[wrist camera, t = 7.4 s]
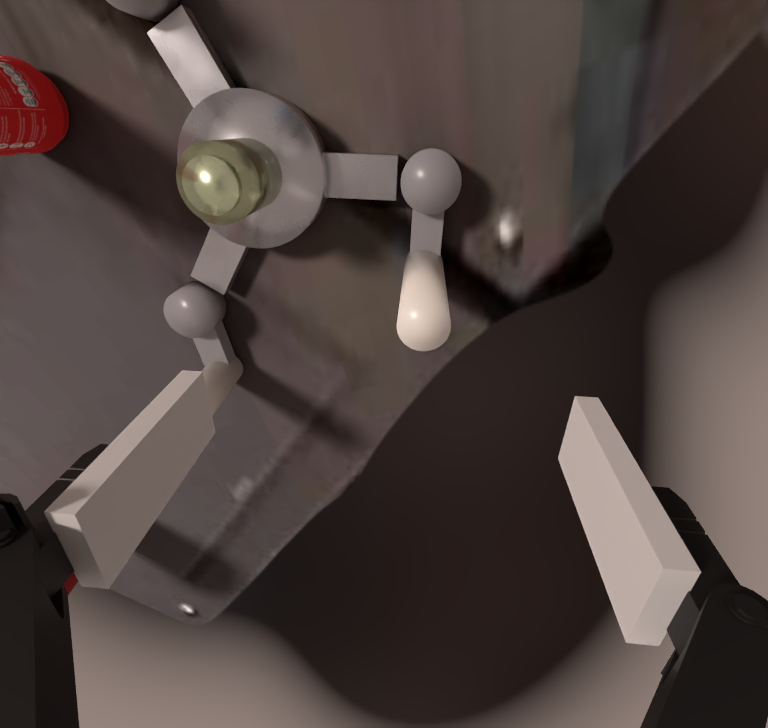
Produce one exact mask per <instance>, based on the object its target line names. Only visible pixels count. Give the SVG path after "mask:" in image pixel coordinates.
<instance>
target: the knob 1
mask: <svg viewBox="0 0 768 728" xmlns="http://www.w3.org/2000/svg"><path fill="white" fill-rule="evenodd" d="M225 314H226V302H225V299H224V297H223V295H222V294H221V293H219V292H218V291H216V290H214V289H213V288H211V287H209V286H207V285H206V284H204V283H202V282H200V281H192V282H189V283H188V284H186V285H184V286H183V287H182V288H180V289H179V290H177V291H176V292H174V293H173V294H171V295H170V296H169V297H168V298H167V299H166V301H165V304H164V315H165V318H166V320H167V322H168V324H169V325H170V326H171V327H172V328H173V329H174V330H175V331H176V332H177V333H179V334H181V335H183V336H185V337H188V338H193V340H194V342H195V345H196V347H197V349H198V352H199V354H200V356H201V359H202V361H203V364H204V366H205V368H204V369H203V370H202V371H201V372H203V376H204V381H205V385H206V390H207V395H208V400H209V405H210V409H211V414H212V415H213V414H214V413H215V411H216V410H217V409H218V407H219V406H220V404H221V403H222V402H223V400H224V399H225V398H226V396H227V395H228V393H229V392H230V391H231V389H232V388H233V386H234V385H235V384H236V382H237V381H238V380H239V378H240V377H241V375H242V374H243V365H242V363H241V361H240V360H239V359H238V358H237V357H236V356H235V354H234V351H233V348H232V346H231V343H230V340H229V338H228V335H227V333H226V330H225V327H224V325H223V322H222V319H223V318H224V316H225Z"/></svg>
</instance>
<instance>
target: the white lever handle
mask: <svg viewBox="0 0 768 728" xmlns="http://www.w3.org/2000/svg"><path fill="white" fill-rule="evenodd" d="M106 1H107V2H108V3H110V4H111V5H112V6H113V7H115V8H117V9H119V10H121V11H124V12H126V13H129V14H132V15H134V16H137V17H140V18H143V19H145V20H148V21H153V22H158V21H162V20H163V19H164V18H166V17H167V16H168V15H169V14H171V13H172V12H173V11H174V10H175V9H176V7H177V5H178V2H179V0H106Z"/></svg>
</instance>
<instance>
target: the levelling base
mask: <svg viewBox="0 0 768 728" xmlns="http://www.w3.org/2000/svg"><path fill="white" fill-rule="evenodd" d="M147 34H148V35H149V37H150V39H151V40H152V42H153V43H154V45H155V47H156V48H157V50H158V51H159V53H160V55H161V56H162V58H163V59H164V61H165V63H166V64H167V66H168V67H169V69H170V71H171V72H172V74H173V75H174V77H175V79H176V80H177V82H178V83H179V85H180V87H181V88H182V90H183V91H184V93H185V95H186V96H187V98H188V99H189V101H190V103H191V104H192V106H193V107H194V109H193V110H192V111H191V112H190V114H189V116H188V117H187V119H186V121H185V123H184V125H183V128H182V130H181V133H180V137H179V142H178V149H177V162H178V164H177V169H176V181H177V186H178V190H179V193H180V195H181V197H182V199H183V201H184V202H185V204H186V205H187V207H188V208H189V209H190V210H191V211H192V212H193V213H194V214H195V215H196V216H198V217H199V218H201V219H202V220H203V221H204V222H205V223H206V224H207V225H208V226H209V227H210V230H209V232H208V235H207V237H206V240H205V242H204V244H203V247H202V249H201V252H200V254H199V257H198V259H197V261H196V264H195V266H194V269H193V271H192V274H191V276H192V277H193V278H195V279H197V280H199V281H200V282H202V283H204V284H206V285H207V286H209V287H211V288H213V289H214V290H216V291H218V292H219V293H221V294H223V295H224V294H226V293H227V292H228V291H229V290H230V289H231V287H232V284H233V282H234V280H235V278H236V276H237V274H238V272H239V269H240V267H241V265H242V263H243V261H244V259H245V257H246V255H247V252H248V250H249V248H250V247H251V248H271V247H276V246H280V245H283V244H285V243H287V242H289V241H291V240H293V239H294V238H296V237H297V236H299V235H300V234H301V233H302V232H303V231H304V230H305V229H306V228H308V227H309V226H310V225H311V224H312V223H313V222H314V221H315V220H316V218H317V217H318V216H319V214H320V212H321V211H322V209H323V207H324V205H325V202H326V200H327V198H348V199H370V200H391V201H396V199H397V183H398V161H399V155H398V154H374V153H349V152H327V150H326V147H325V144H324V142H323V140H322V138H321V136H320V134H319V132H318V130H317V129H316V127H315V125H314V124H313V123H312V122H311V120H310V119H309V118H308V117H307V116H306V115H305V114H304V113H303V112H302V111H301V110H300V109H299V108H298V107H297V106H295V105H294V104H293V103H291V102H289V101H288V100H286V99H284V98H282V97H280V96H278V95H275V94H272V93H268V92H264V91H259V90H254V89H247V88H236V86H235V84H234V82H233V81H232V79H231V77H230V75H229V74H228V72H227V70H226V69H225V67H224V65H223V63H222V62H221V60H220V58H219V56H218V55H217V53H216V51H215V50H214V48H213V46H212V44H211V43H210V41H209V39H208V37H207V36H206V34H205V32H204V31H203V29H202V27H201V25H200V24H199V22H198V20H197V18H196V17H195V15H194V13H193V11H192V10H191V9H189V8H187V7H185V6H183V5H180V6H179V7H178V8H177V9H175V10H174V11H173V12H172V13H171V14H169V15H168V16H167V17H166V18H164V19H163V20H162V21H161V22H160V23H158V24H157V25H156V26H155V27H153V28H152V29H151V30H150V31H149V32H147Z"/></svg>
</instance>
